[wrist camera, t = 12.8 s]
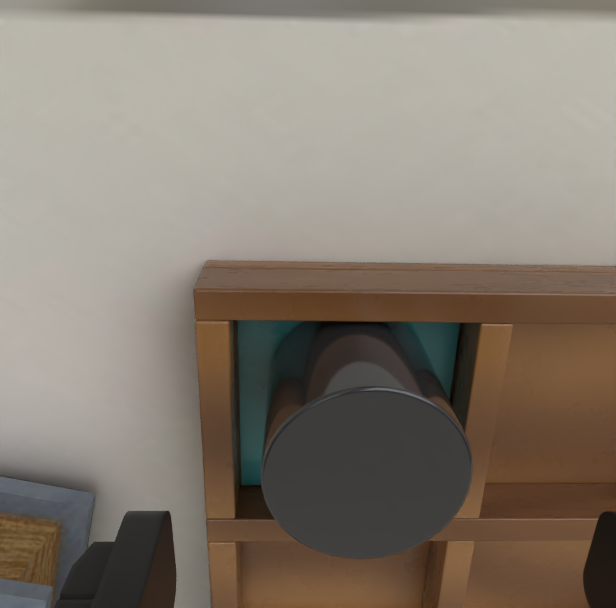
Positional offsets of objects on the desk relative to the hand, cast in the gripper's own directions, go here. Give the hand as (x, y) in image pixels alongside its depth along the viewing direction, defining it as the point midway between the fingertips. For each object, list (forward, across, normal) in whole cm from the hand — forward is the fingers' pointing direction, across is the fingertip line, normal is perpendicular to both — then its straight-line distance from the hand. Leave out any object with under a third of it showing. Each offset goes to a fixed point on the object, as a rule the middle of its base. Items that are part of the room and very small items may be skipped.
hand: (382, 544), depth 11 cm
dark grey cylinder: (+5, 0, 0) cm, 5 cm away
